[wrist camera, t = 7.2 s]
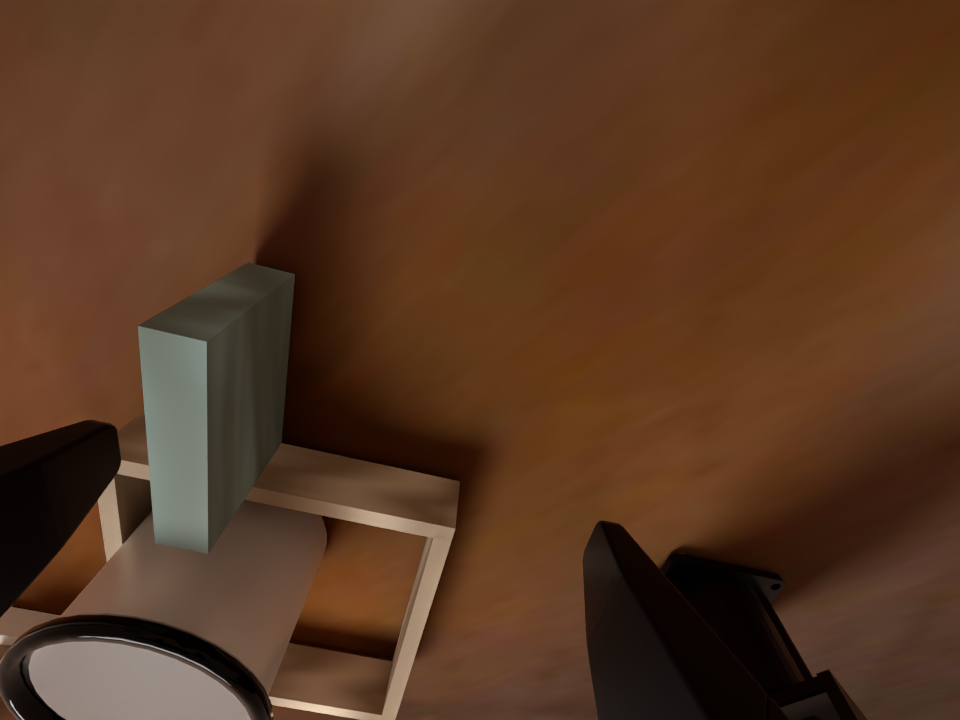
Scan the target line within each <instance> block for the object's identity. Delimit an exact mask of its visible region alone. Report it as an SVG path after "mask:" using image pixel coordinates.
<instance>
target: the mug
mask: <svg viewBox="0 0 960 720" xmlns="http://www.w3.org/2000/svg"><path fill="white" fill-rule="evenodd" d="M326 545H327V532H326V528H325V525H324V521H323V519H322V517H321V515H317V514H312V513H307V512H303V511H298V510H293V509H288V508H283V507H278V506H273V505H268V504H263V503H258V502H253V501H248V500H244V501H243V502H242V504H241V505H240V507H239V508H238V510H237V511H236V513H235V514H234V516H233V517H232V519H231V520H230V522H229V523H228V525H227V526H226V528H225V529H224V531H223V532H222V534H221V535H220V537H219V538H218V540H217V541H216V543H215V544H214V546H213V548H212V549H211V551H210V552H209V554H206V553H200V552H195V551H190V550H185V549H180V548H174V547H169V546H164V545H159V544H155V537H154V524H153V512H151V513H150V514H149V515H148V516H147V517H146V519H145V520H144V521H143V522H142V523H141V524H140V525H139V527H138V528H137V529H136V530H135V531H134V532H133V533H132V535H131V536H130V537H129V538H128V539H127V540H126V541H125V543H124V544H123V545H122V546H121V547H120V548H119V549H118V551H117V552H116V553H115V554H114V555H113V556H112V557H111V559H110V560H109V561H108V562H107V563H106V564H105V565H104V567H103V568H102V569H101V570H100V571H99V572H98V573H97V575H96V576H95V577H94V578H93V579H92V580H91V581H90V583H89V584H88V585H87V586H86V587H85V588H84V589H83V591H82V592H81V593H80V594H79V595H78V596H77V597H76V599H75V600H74V601H73V602H72V603H71V604H70V605H69V607H68V608H67V609H66V610H65V611H64V612H63V613H62V615H61V616H60V617H59V618H56V619H53V620H50V621H47V622H45V623H42V624H39V625H37V626H34V627H32V628H31V629H29V630H28V631H26V632H25V633H24V634H22V635H21V636H19V637H18V638H17V640H16V641H15V642H14V643H13V645H12V646H11V647H10V648H9V649H8V651H7V652H6V654H5V655H4V656H3V658H2V659H1V661H0V696H1V698H2V700H3V701H4V703H5V705H6V707H7V708H8V710H9V711H10V712H11V713H12V714H13V715H14V717H15V718H16V719H17V720H273V710H272V704H271V701H270V698H269V696H268V695H269V692H270V690H271V687H272V684H273V682H274V679H275V677H276V674H277V672H278V669H279V667H280V664H281V662H282V659H283V657H284V654H285V652H286V649H287V646H288V644H289V641H290V639H291V636H292V634H293V631H294V629H295V626H296V624H297V621H298V619H299V616H300V614H301V611H302V609H303V606H304V603H305V601H306V598H307V596H308V593H309V591H310V588H311V586H312V583H313V581H314V578H315V576H316V573H317V571H318V568H319V566H320V563H321V560H322V558H323V555H324V552H325V549H326Z"/></svg>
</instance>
